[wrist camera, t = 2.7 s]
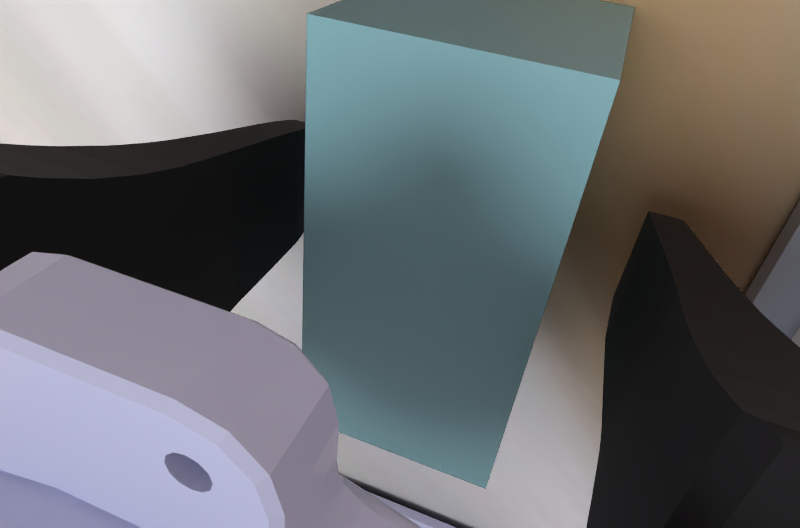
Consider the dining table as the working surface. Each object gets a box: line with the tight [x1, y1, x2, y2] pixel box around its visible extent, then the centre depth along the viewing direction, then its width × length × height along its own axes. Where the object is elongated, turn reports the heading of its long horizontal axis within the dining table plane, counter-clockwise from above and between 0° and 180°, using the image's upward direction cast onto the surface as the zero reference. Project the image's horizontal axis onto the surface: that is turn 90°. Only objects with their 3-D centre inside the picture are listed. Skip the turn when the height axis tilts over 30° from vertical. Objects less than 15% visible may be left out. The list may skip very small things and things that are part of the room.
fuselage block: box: [302, 0, 635, 489], centre depth 11 cm, size 8×4×5 cm, turn 172°
